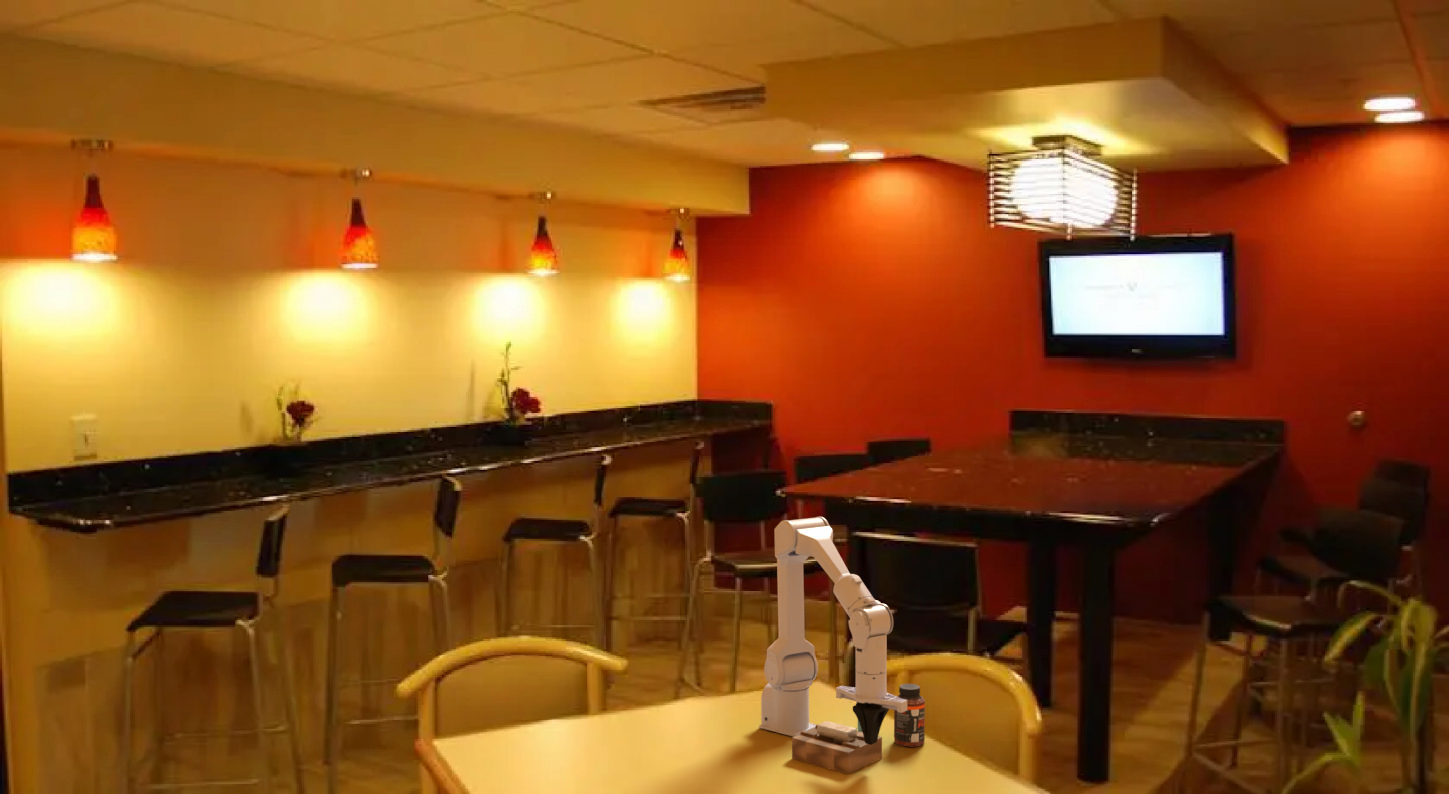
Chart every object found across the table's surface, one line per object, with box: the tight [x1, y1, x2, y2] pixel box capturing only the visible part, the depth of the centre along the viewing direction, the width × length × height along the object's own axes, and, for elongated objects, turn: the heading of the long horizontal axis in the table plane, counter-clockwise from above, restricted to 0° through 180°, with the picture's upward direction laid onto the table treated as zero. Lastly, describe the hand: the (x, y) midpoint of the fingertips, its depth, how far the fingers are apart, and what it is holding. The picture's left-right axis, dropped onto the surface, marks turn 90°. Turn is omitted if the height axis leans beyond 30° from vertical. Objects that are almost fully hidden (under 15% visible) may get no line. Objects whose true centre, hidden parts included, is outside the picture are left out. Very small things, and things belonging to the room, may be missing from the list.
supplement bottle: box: [893, 683, 926, 748], centre depth 245 cm, size 6×6×11 cm
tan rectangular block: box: [816, 720, 858, 742], centre depth 237 cm, size 7×3×2 cm, turn 49°
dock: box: [791, 723, 883, 775], centre depth 237 cm, size 13×11×4 cm
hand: (871, 742), depth 232 cm, fingers closed
